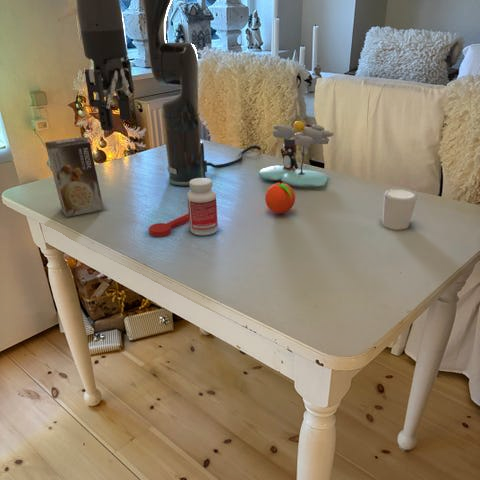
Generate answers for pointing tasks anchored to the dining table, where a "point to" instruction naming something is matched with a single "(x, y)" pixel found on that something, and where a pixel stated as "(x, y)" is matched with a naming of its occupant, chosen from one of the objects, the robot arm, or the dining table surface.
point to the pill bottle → (202, 207)
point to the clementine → (280, 198)
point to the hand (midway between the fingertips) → (117, 124)
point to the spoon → (167, 226)
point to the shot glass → (398, 208)
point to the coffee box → (75, 176)
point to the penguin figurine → (288, 171)
